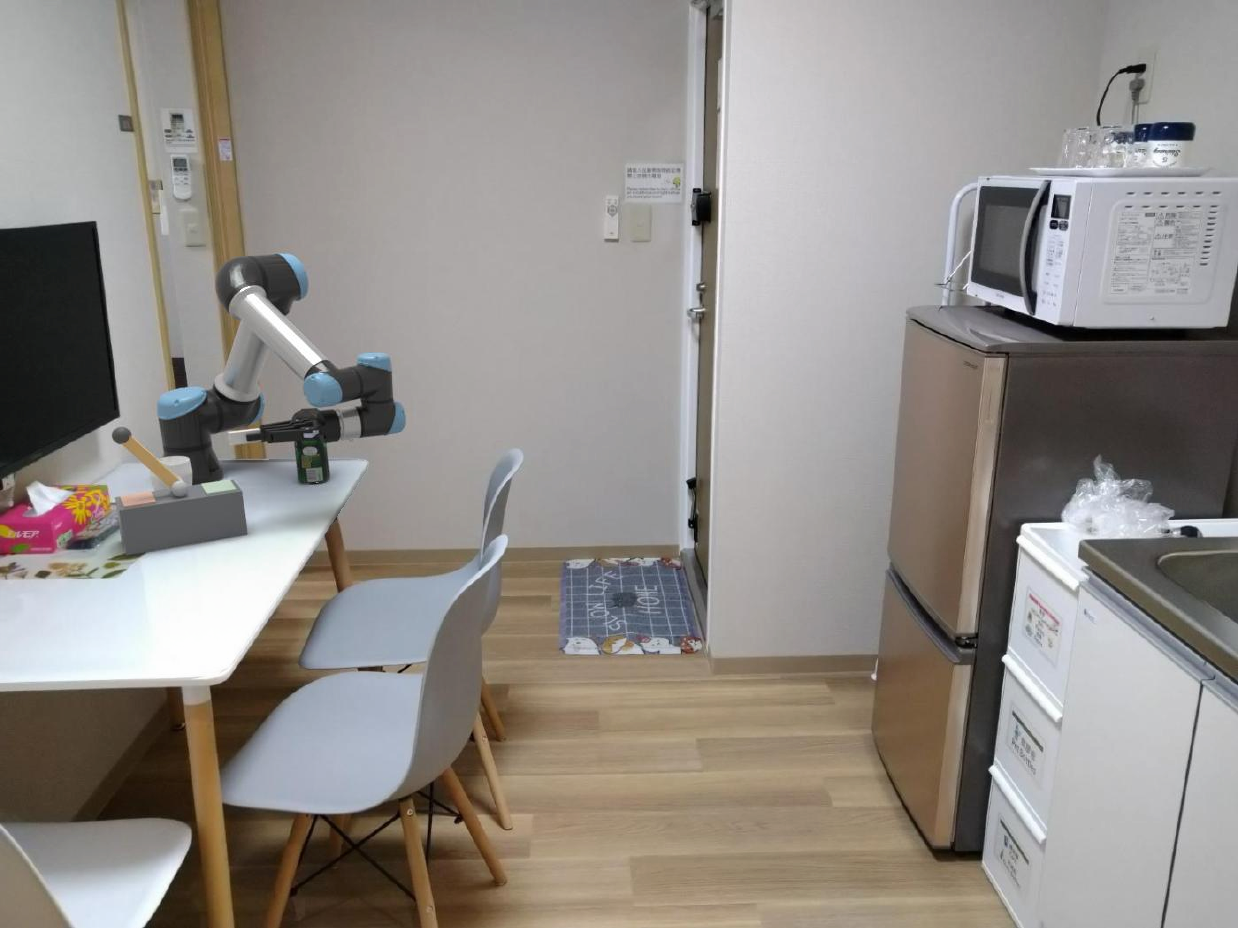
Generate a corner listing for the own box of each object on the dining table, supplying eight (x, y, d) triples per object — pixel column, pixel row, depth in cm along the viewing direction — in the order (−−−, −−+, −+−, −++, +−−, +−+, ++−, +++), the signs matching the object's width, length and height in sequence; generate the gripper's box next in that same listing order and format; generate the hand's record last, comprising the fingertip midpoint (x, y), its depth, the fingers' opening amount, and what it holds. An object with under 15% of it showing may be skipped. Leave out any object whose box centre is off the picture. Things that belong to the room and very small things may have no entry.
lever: (174, 492, 206) (106, 432, 196) (187, 481, 207) (120, 420, 197) (178, 500, 201) (109, 438, 191) (192, 488, 202) (123, 426, 192)
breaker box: (121, 540, 205) (114, 495, 202) (238, 520, 217) (233, 477, 214) (126, 555, 197) (118, 508, 194) (247, 534, 209) (242, 489, 206)
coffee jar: (300, 474, 251) (293, 406, 246) (331, 473, 252) (325, 405, 247) (295, 485, 242) (288, 415, 237) (327, 484, 243) (321, 413, 238)
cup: (162, 518, 218) (154, 469, 215) (150, 509, 225) (143, 460, 221) (202, 510, 224) (196, 461, 221) (189, 501, 230) (183, 453, 227)
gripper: (346, 447, 214) (236, 462, 202) (330, 434, 225) (225, 448, 213) (344, 415, 212) (232, 428, 200) (328, 403, 223) (221, 415, 211)
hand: (229, 438), depth 206 cm, fingers closed
